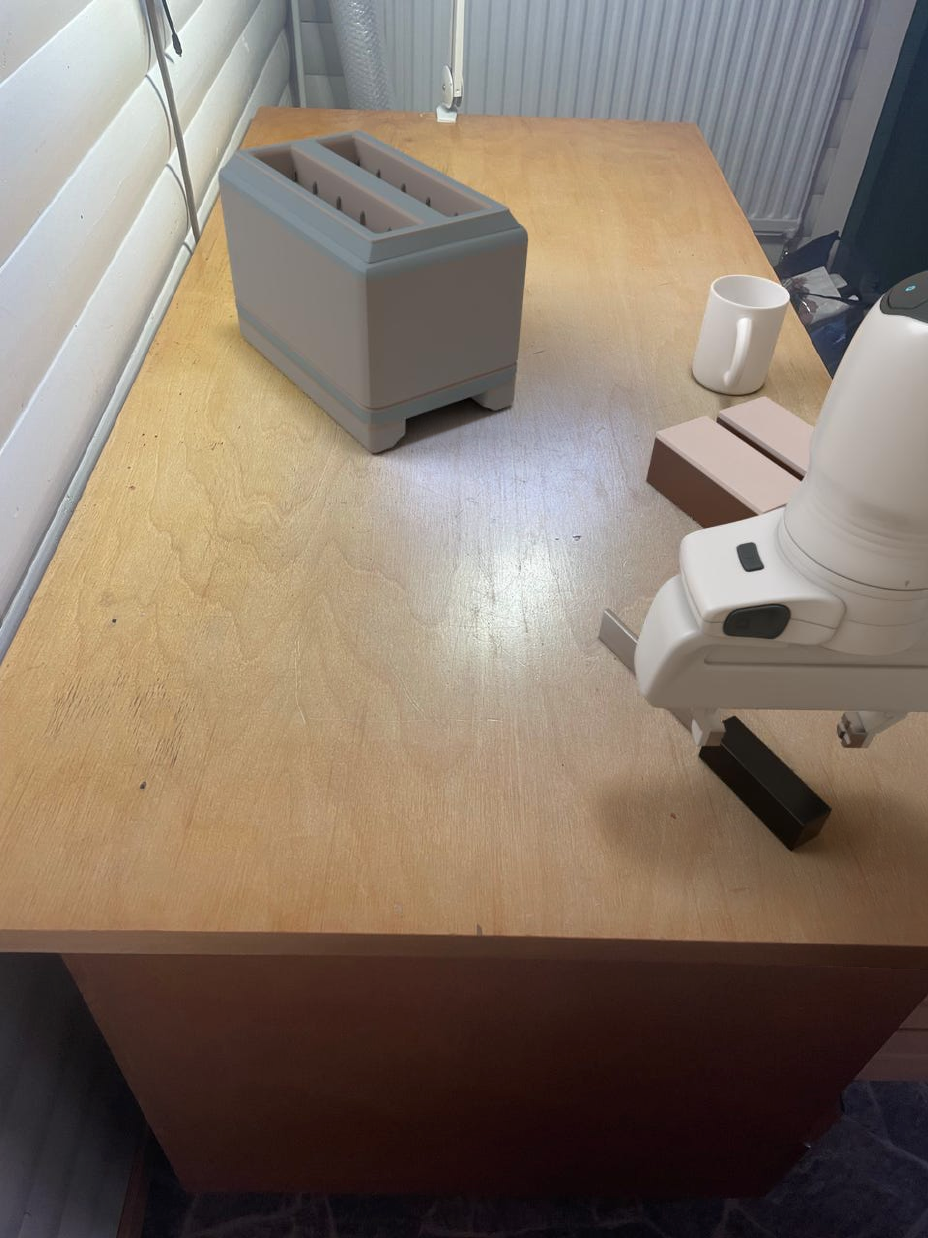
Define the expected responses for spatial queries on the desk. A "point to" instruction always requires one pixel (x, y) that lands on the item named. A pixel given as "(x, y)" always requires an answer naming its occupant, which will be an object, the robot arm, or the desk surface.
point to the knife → (743, 762)
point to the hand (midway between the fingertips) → (777, 739)
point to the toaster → (373, 280)
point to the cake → (732, 462)
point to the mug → (739, 333)
